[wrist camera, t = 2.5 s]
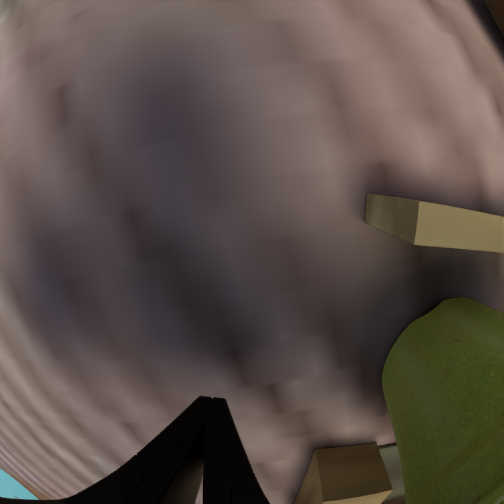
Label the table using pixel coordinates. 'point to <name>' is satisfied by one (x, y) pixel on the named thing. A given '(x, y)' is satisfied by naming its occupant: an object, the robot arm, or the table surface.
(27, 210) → the table surface
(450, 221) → the compartment box
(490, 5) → the plant saucer
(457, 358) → the plant pot
